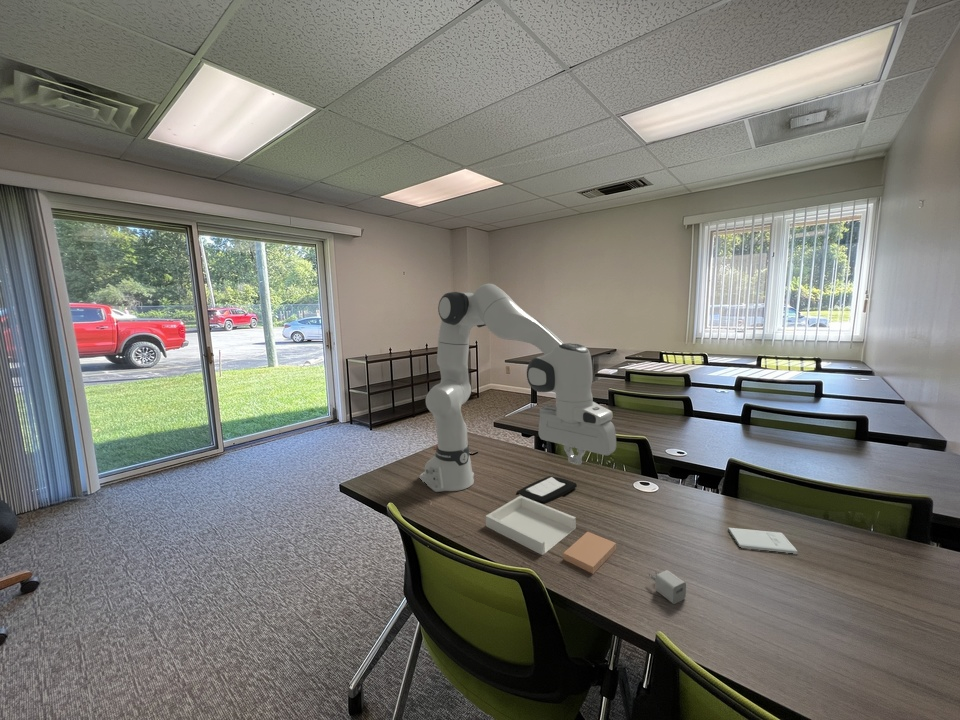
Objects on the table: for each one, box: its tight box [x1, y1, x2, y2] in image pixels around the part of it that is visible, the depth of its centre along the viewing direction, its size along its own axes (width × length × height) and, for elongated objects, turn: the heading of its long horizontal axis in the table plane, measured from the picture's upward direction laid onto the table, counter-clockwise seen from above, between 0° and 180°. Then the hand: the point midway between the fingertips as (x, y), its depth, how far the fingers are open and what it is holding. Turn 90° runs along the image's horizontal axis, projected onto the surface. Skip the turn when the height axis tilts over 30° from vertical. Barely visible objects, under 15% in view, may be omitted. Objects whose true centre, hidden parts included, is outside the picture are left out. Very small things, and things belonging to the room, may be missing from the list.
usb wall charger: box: [648, 569, 687, 605], centre depth 82 cm, size 4×7×4 cm, turn 24°
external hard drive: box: [727, 527, 799, 555], centre depth 98 cm, size 2×8×12 cm
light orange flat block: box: [562, 531, 617, 575], centre depth 95 cm, size 8×12×3 cm, turn 135°
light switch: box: [516, 475, 578, 505], centre depth 131 cm, size 20×3×14 cm
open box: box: [485, 494, 577, 556], centre depth 108 cm, size 20×16×4 cm
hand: (575, 463), depth 94 cm, fingers closed
